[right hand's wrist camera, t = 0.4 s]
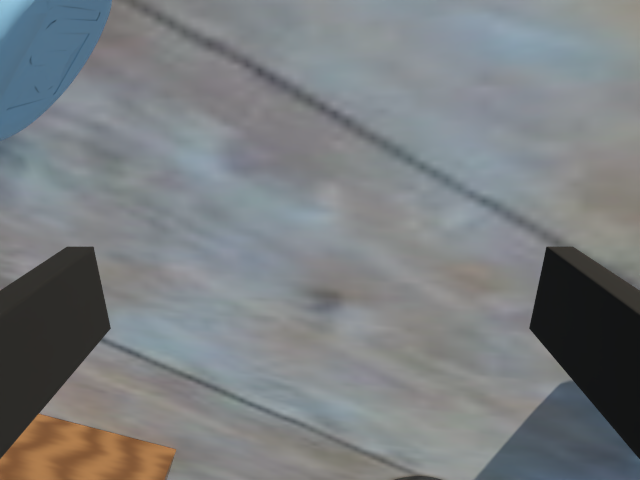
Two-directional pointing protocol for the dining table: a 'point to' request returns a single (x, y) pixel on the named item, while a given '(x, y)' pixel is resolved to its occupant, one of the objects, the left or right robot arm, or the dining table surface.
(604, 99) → the dining table surface
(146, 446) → the board
